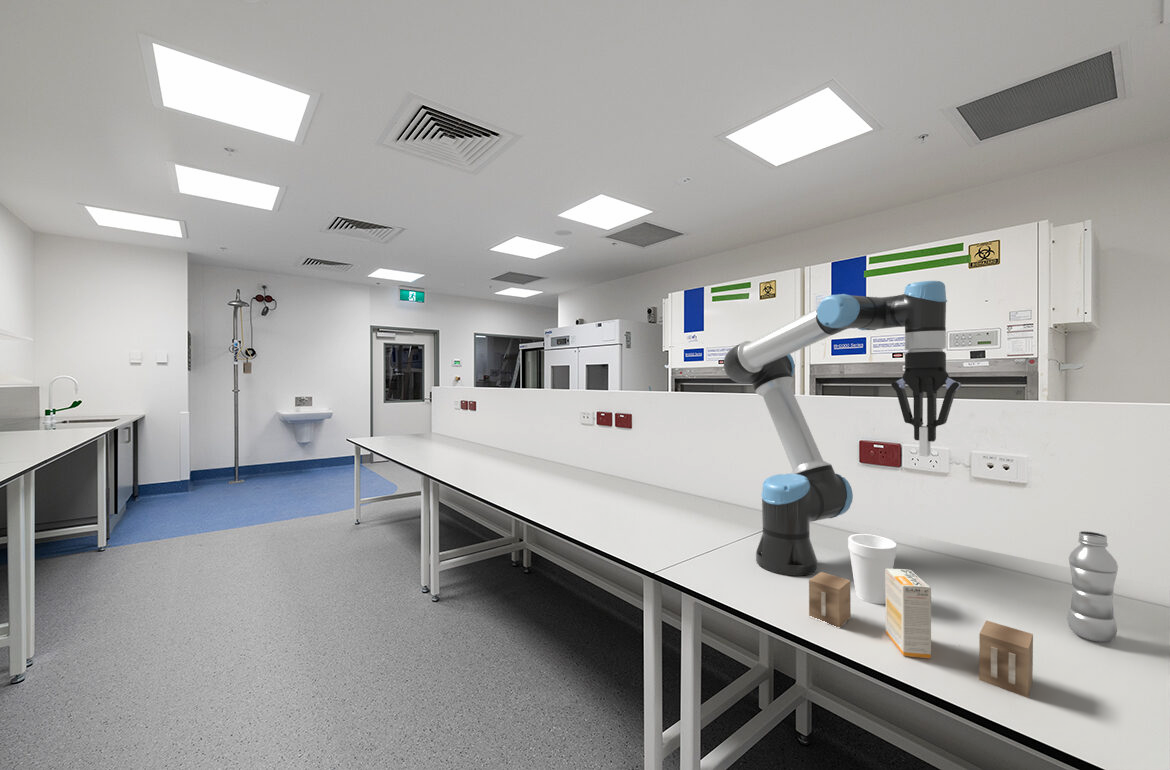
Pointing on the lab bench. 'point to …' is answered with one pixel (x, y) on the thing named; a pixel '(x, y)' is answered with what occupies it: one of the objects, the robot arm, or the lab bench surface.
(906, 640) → the supplement box
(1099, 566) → the plastic bottle
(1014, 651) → the walnut block two
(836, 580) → the walnut block one
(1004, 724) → the lab bench surface
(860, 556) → the foam cup
